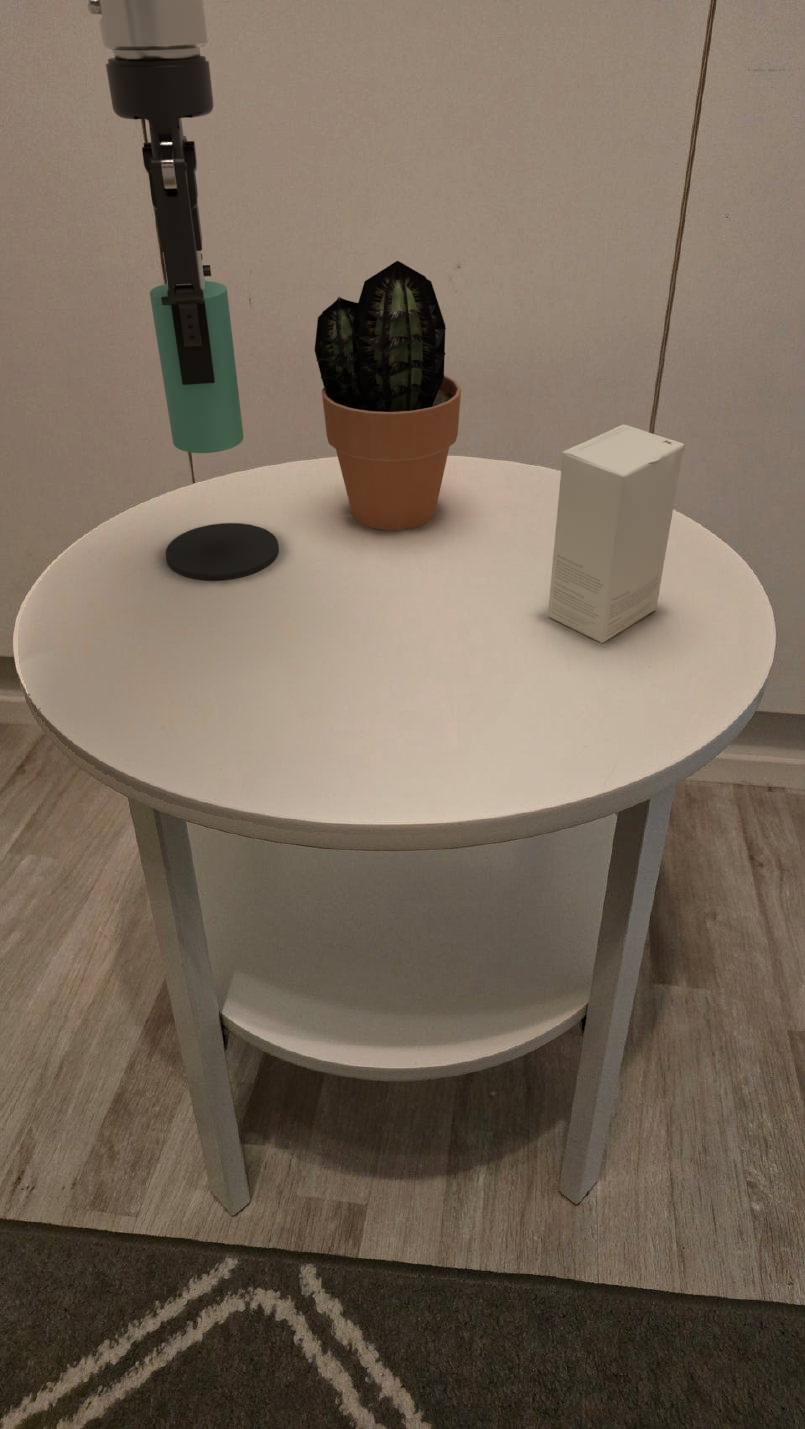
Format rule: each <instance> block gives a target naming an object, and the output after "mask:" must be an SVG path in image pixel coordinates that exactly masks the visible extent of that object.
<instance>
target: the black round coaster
mask: <svg viewBox="0 0 805 1429" xmlns="http://www.w3.org/2000/svg"><path fill="white" fill-rule="evenodd" d="M279 550H280V547H279V541H278V539H277V537H276V536H275V535H274V534H273V533H272V532H271V531H269V530H267V529H266V528H263V527H260V526H257V525H253V524H247V523H241V522H239V523H237V522H221V523H214V524H208V525H203V526H199V527H195V528H192V529H190V530H188V531H185V532H183V533H181V534H180V535H178V536H176V537H175V538H173V540H171V541H170V542H169V544H168V545H167V547H166V549H165V554H164V555H165V560H166V564H167V565H168V567H169V568H170V569H171V570H173V571H174V572H176V573H177V574H179V575H181V576H184V577H188V578H191V579H197V580H202V581H203V580H204V581H223V580H232V579H237V578H238V579H239V578H241V577H246V576H248V575H252V574H255V573H257V572H260V571H261V570H263V569H265V568H266V567H268V566H269V565H271V564H272V563H273V562H274V561H275V559H276V558H277V556H278V554H279V552H280V551H279Z"/></svg>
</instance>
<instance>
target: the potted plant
mask: <svg viewBox="0 0 805 1429" xmlns="http://www.w3.org/2000/svg"><path fill="white" fill-rule="evenodd" d="M446 329H447V328H446V323H445V320H444V316H443V313H442V311H441V308H440V304H439V302H438V298H437V295H436V292H435V288H434V285H433V282H432V281H431V280H429V279H428V278H427V277H426V276H425V275H424V274H422V273H421V272H418V271H416V270H415V269H413V268H411V267H410V266H408V265H406V264H405V263H403V262H401V261H399V260H395V261H394V262H392V263H391V264H390V265H387V266H386V267H385V268H383V269H381V270H380V271H379V272H377V273H375V274H374V275H372V276H370V277H369V278H367V279H365V280H364V282H363V285H362V289H361V292H360V295H359V298H358V301H357V302H356V301H352V300H348V299H346V298H342V297H341V296H338V297H337V298H336V300H335V301H333V303H331V304H330V305H328V307H327V308H326V309H324V310H323V311H322V312H321V314H320V315H319V316H318V317H317V322H316V332H315V342H314V354H315V358H316V359H315V360H316V362H317V366H318V369H319V373H320V379H321V382H322V384H323V388H322V389H321V397H322V405H323V415H324V424H325V433H326V438H327V443H328V445H329V446H331V447H332V448H334V450H335V452H336V456H337V460H338V463H339V468H340V471H341V476H342V479H343V483H344V487H345V490H346V494H347V495H346V496H347V498H348V502H349V507H350V511H351V514H352V518H353V519H355V520H356V521H357V523H359V524H360V525H361V524H362V525H364V526H366V527H368V528H371V529H377V530H381V531H404V530H410V529H413V528H418V527H420V526H422V525H424V524H427V523H428V522H429V521H431V519H433V518H434V517H435V514H436V511H437V506H438V501H439V496H440V494H441V493H440V492H441V487H442V482H443V478H444V474H445V469H446V465H447V459H448V456H449V450H450V447H451V446H453V445H455V443H457V437H458V435H459V423H460V411H461V410H460V409H461V397H462V388H461V386H460V385H459V383H458V381H457V380H456V379H454V378H452V377H451V376H449V375H447V374H445V357H446V353H447V352H446Z"/></svg>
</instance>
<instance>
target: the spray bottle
mask: <svg viewBox="0 0 805 1429" xmlns="http://www.w3.org/2000/svg"><path fill="white" fill-rule="evenodd" d="M188 191H189V184H188ZM197 202H198V200H197ZM198 203H199V202H198ZM199 209H200V208H199V205H198V206H197V207H196V208H195V209H194V210H193V211H192V215H193V223H194V231H195V240H196V248H197V257H198V266H199V274H200V283H201V289H202V290H203V293H204V299H203V300H205V307H206V314H207V322H208V330H209V338H210V346H211V354H212V362H213V370H214V378H215V383H206V384H190V385H182V378H181V371H180V364H179V357H178V350H177V343H176V337H175V330H174V323H173V316H172V309H171V305H165V306H163V305H162V300H161V297H166V296H168V294H167V291H168V283H164V284H161V285H158V286H155V287H153V288H152V289H150V291H149V298H150V305H151V309H152V310H151V311H152V317H153V325H154V331H155V337H156V343H157V349H158V356H159V362H160V368H161V375H162V382H163V388H164V394H165V400H166V407H167V413H168V419H169V425H170V433H171V438H172V439H171V440H172V444H173V446H174V447H175V448H176V449H178V450H180V451H182V452H186V453H192V454H211V453H212V454H213V453H219V452H223V451H227V450H230V449H233V448H235V447H237V446H238V445H240V444H241V443H242V442H243V441H244V428H243V420H242V410H241V402H240V393H239V392H240V391H239V384H238V376H237V366H236V359H235V358H236V357H235V348H234V340H233V339H234V338H233V330H232V322H231V312H230V311H231V310H230V305H229V294H228V288H227V286H226V285H225V284H223V283H219V282H216V281H211V280H209V281H208V280H205V281H204V279H205V277H204V275H203V267H202V265H203V260H202V259H201V253H202V252H201V251H203V234H202V233H203V232H202V226H201V218H200V210H199ZM154 211H155V217H156V223H157V230H158V237H159V244H160V250H161V253H163V247H162V240H161V232H160V225H159V218H158V211H157V209H155V208H154ZM177 285H192V284H177Z"/></svg>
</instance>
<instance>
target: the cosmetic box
mask: <svg viewBox="0 0 805 1429" xmlns="http://www.w3.org/2000/svg"><path fill="white" fill-rule="evenodd" d="M684 450H685V444H684V443H683V442H680V441H677V440H673V439H670V438H667V437H664V436H661V435H658V434H654V433H651V432H648V431H646V430H643V429H641V428H637V427H634V426H631V425H628V424H621V425H618V426H617V427H614V428H612V429H610V430H608V431H605V432H603V433H601V434H599V435H597V436H594V437H592V438H590V439H588V440H586V441H583V442H581V443H579V444H577V445H574V446H572V447H570V448H568V449H565V450H563V451H562V458H561V470H560V481H559V491H558V501H557V502H558V503H557V513H556V522H555V523H556V524H555V534H554V545H553V555H552V563H551V564H552V565H551V566H552V567H551V577H550V585H549V596H548V597H549V598H548V607H547V616H548V618H550V619H552V620H554V621H556V622H558V623H559V624H562V625H564V626H566V627H568V628H570V629H572V630H574V631H575V632H578V633H580V634H583V635H585V636H587V637H589V638H590V639H592V640H595V641H596V642H599V643H601V644H602V643H603V644H604V643H605V642H606V641H608V640H610V639H612V638H613V637H614V636H616V635H618V634H619V633H620V632H622V631H624V630H625V629H627V628H629V627H630V626H632V625H633V624H635V623H636V622H639V621H640V620H641V619H643V618H645V617H646V616H648V615H649V614H651V613H653V612H654V611H656V610H657V609H658V601H659V597H660V596H659V595H660V590H661V589H660V588H661V583H662V576H663V572H664V566H665V559H666V553H667V547H668V541H669V535H670V529H671V523H672V520H673V519H672V518H673V514H674V513H673V512H674V507H675V501H676V495H677V488H678V484H679V476H680V472H681V467H682V461H683V455H684Z"/></svg>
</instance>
